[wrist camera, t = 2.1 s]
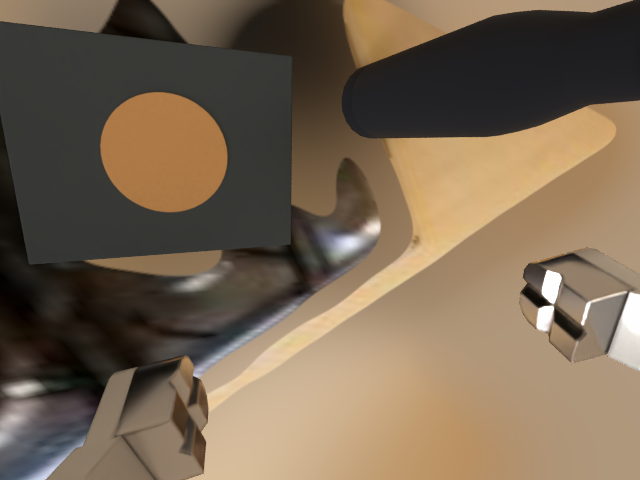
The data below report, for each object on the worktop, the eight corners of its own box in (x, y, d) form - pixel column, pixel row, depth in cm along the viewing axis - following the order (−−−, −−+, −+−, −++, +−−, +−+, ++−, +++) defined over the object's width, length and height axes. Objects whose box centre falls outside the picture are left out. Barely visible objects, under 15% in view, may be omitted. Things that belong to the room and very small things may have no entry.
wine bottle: (331, 121, 32) (1099, 29, 6) (356, 51, 32) (1387, -453, 5) (386, 148, 35) (1080, 174, 8) (411, 84, 34) (1261, -117, 8)
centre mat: (-14, 21, 23) (-19, 18, 22) (290, 57, 30) (292, 55, 29) (31, 262, 27) (28, 265, 26) (289, 242, 34) (291, 244, 33)
